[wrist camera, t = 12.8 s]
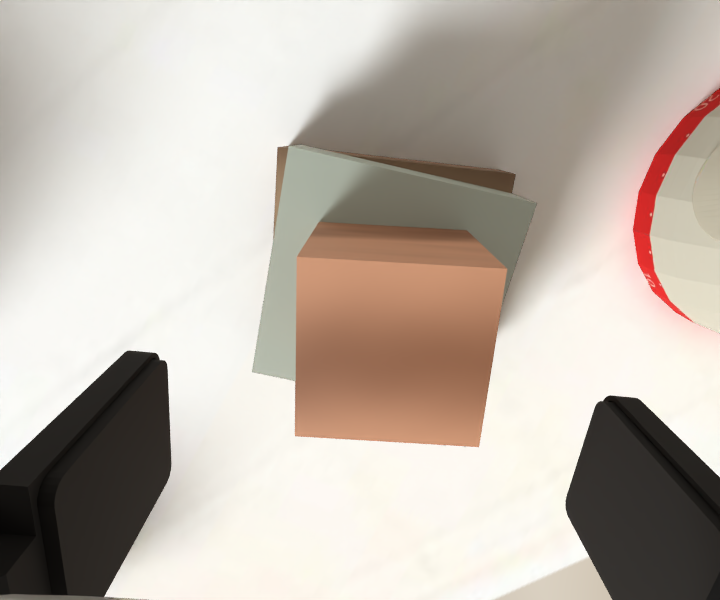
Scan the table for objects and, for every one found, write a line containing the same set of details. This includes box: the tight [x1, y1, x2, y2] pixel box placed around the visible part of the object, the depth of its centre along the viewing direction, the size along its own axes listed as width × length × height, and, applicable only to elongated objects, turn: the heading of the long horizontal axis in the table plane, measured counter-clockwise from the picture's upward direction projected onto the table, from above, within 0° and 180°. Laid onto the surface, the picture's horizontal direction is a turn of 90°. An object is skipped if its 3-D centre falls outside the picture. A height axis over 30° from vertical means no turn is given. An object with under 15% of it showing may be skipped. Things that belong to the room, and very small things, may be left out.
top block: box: [252, 145, 537, 381], centre depth 22 cm, size 10×10×4 cm
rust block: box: [295, 222, 507, 447], centre depth 17 cm, size 6×6×6 cm
